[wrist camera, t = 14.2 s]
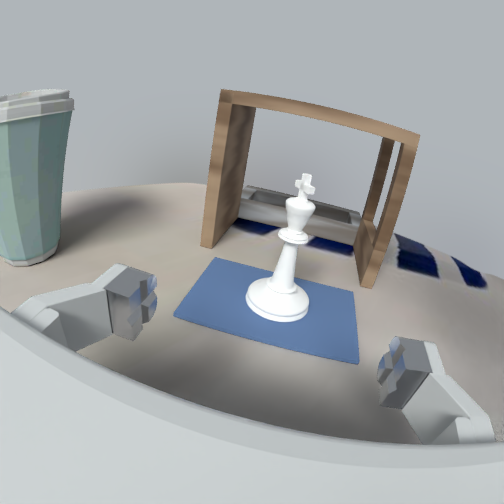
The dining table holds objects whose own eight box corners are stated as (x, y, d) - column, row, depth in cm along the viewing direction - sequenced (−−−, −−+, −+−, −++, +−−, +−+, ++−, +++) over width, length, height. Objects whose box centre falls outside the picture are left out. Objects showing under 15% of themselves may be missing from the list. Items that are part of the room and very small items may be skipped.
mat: (357, 364, 19) (359, 361, 19) (173, 316, 21) (173, 312, 20) (352, 294, 27) (353, 291, 27) (214, 260, 29) (215, 257, 28)
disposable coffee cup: (80, 271, 23) (78, 83, 16) (-29, 288, 17) (-53, 102, 10) (73, 223, 30) (76, 87, 24) (-10, 235, 24) (-18, 98, 18)
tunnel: (371, 288, 28) (420, 134, 22) (200, 245, 31) (221, 89, 24) (355, 224, 45) (380, 127, 38) (245, 197, 47) (262, 100, 41)
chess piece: (261, 327, 21) (294, 182, 16) (236, 287, 25) (257, 161, 20) (319, 316, 23) (359, 189, 18) (289, 282, 27) (316, 168, 22)
